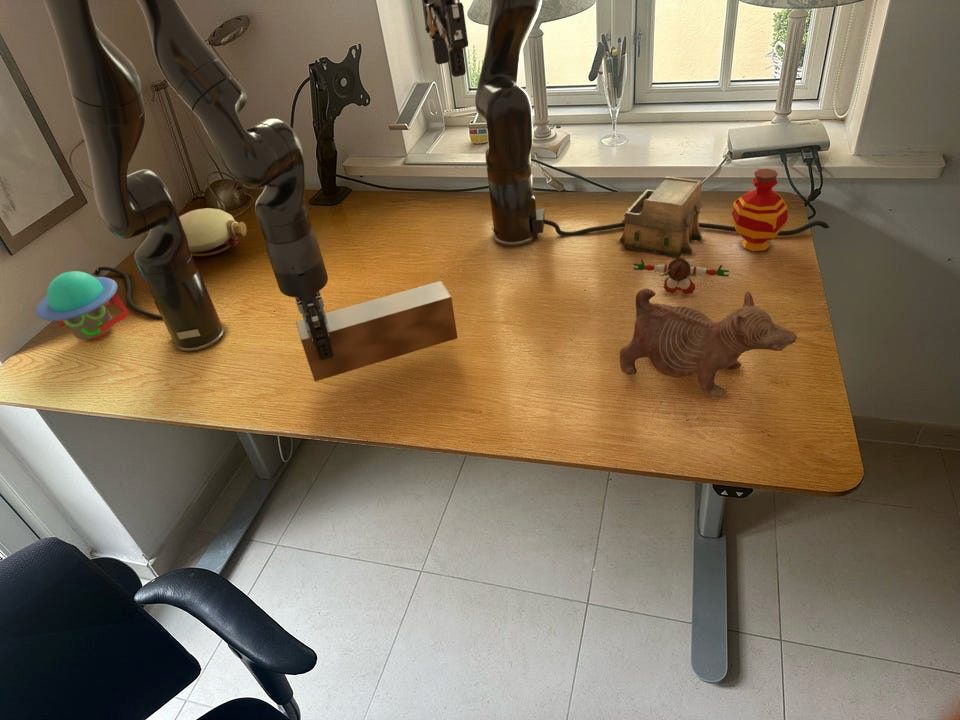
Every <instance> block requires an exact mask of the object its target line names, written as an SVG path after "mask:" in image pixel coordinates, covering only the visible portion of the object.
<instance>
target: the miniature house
mask: <svg viewBox="0 0 960 720" xmlns="http://www.w3.org/2000/svg"><path fill="white" fill-rule="evenodd" d="M702 183H703V181H702V180H699V179H698V180H697V179H690V178H683V177H676V176H675V177H674V176H667V175H666V176H665V177H664V178H663V181H662V182H661V183H660V185H659V186H658V187H657V188H656V189H646V190H644V191H643V193H642V194H641V195H639V196H638V197H637V199H636V200H635V202H634V203H632V205H630V207H628V208H626V211H625V213H624V215H623V217H624V219H623V220H622V221H621V223H625V227H623V228H624V229H623V232H622V235H621V237H620V238H619V242H620V243H623V249H625V250H630V251H636V252H641V253H646V254H651V255H657V256H662V257H667V258H673V259H678V258H681V257H682V255H689V256H691V255H692V254H693V249H692V247H691V243H692V242H693V241H695V242H702V239H703V236H702V234H701V231H700V227H699V223H700V222H699V215H700V213H701V208H702V207H703V205H704V204H703V203H701V193H702V192H701V191H702ZM698 222H699V223H698Z"/></svg>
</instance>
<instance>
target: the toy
mask: <svg viewBox="0 0 960 720" xmlns="http://www.w3.org/2000/svg"><path fill="white" fill-rule="evenodd" d="M640 262H641V263H633V266H634V267H633V268H632V269H633V270H634V271H648V272H652V271H653V272H654V273H657V272H658V273H659V274H658V276H659V277H664V276H668V277H666V278H665V279H664V281H663V282H664V283H663V289H664V290H665V292H666V293H668V294H672V295H673V294H674V293H676V292H677V291H680V292H682V294H683V295H692V294H693V293H694V292H695V290H696V288H697V287H696V284H695V283H694V282H693V280H691V278H689V277H690V276H691V277H694V278H697V276H704V277H706V275H707V276H716V277H729V276H730V275H729V274H726V273H730V270H729V269H722V268H723V265H722V264H720V265H718V268H717V269H714V268H710V269H707V267H701V266H696V265H695V266H693V263H694V261H693V260H692V259H685V258H682V257H680V258H678V259H677V258H673V259H672V260H671V261H670V262H669V263H668V264H666V263H665V264H656V263H655V264H654V265H652V264H645V260H644V259H641V260H640ZM660 273H661V274H660Z"/></svg>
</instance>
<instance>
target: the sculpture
mask: <svg viewBox="0 0 960 720" xmlns="http://www.w3.org/2000/svg"><path fill="white" fill-rule="evenodd" d="M655 296H656V292H655V291H654V290H652V289H650V288H648V287H647V288H641V289H639V290H638V291H637V292H636V294H635V300H634V301H635V302H634V305H635V314H636V315H635V321H634V327H633V328H634V331H633V336H632V339H631V341H630V342H629V343H628V344H627V345H624V346H623V347H621V348H620V350H619V365H620V370H621V372H622V373H623V374H625V375H627V376H634V375H636V374H637V373H638V370H637V368H636V361H637V360H639V359H641V358H648V359H649V361H650V363H651V365H652V366H653V368H654V369H655V370H656V371H657V372H659V373H660V374H662V375H663V376H666V377H670V378H675V379H682V378H683V379H684V378H687V377H690V376H692V375H694V374H696V376H697V381H698V385H699V389H700V391H701V393H702V394H703V395H704V396H706V397H708V398H713V399H714V398H724V397H725V396H726V395H727V394H728V392H727V390H726V389H725V388H724V387H722V386H721V385H718V384H717V383H715V378H716V375H717V372H719V371H722V370H727V371H736V370H739V369H740V368H741V367H742V362H741V361H739V360H738V359H739V358H740V356H741V355H742V354H744V353H747V352H748V351H752V350H768V351H773V352H774V351H776V352H781V351H783V350H784V349H786V348H787V347H788V346H790V345H793V344H794V343H795V342H796V341H797V338H798V336H797V334H795V332H794V331H792V330H790V329H787V328H786V327H784V326H780V325H778V324H776V323H775V322H774V321H773V319H772V317H771V315H770V314H768V312H766V311H765V310H764V309H762V308H761V307H757V306H755V302H754V298H753V296H752V294H751V292H750V291H745V292H744V297H743V304H742V307H739V308H736V309H735V310H733V311H732V312H731V313H729V314H728V315H726V316H725V317H724V318H722V319H720V321H717V322H715V321H713V320H712V319H711V318H709V317H708V316H707V315H706V314H705V313H704V312H702V311H700V310H698V309H695V308H693V307H688V306H684V305H669V304H664V303H657V302H656V303H655V302H650V300H651V298H653V297H655Z"/></svg>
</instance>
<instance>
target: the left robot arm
mask: <svg viewBox="0 0 960 720" xmlns="http://www.w3.org/2000/svg"><path fill="white" fill-rule="evenodd" d="M135 1H136V2H137V4H138V6H139V8H140V10H141V11H142V15H143V16H144V20H145V23H146V27H147V29H148V33H149V39H150V42H151V46H152V50H153V54H154V57H155V60H156V63H157V65H158V67H159V70H160V72H161V73H162V75H163V77H164V78H165V81H166V82H167V83H168V84H169V86H170V87H171V88H172V89H173V90H174V91H175V92H176V94H177V95H178V96H179V97H180V99H181V100H182V102H184V103H185V104H186V105H187V107H188V108H189V109H190V110H191V111H192V112H193V113H194V115H196V117H197V118H198V119H199V120H200V122H201V124H202V126H203V128H204V130H205V132H206V133H207V135H208V138H209V139H210V141H211V143H212V145H213V146H214V149H215V151H216V153H217V155H218V156H219V158H220V161H221V162H222V164H223V166H224V167H225V169H226V171H227V172H228V173H229V174H230V175H231V176H232V177H233V178H234V179H235V180H236V181H237V182H239V183H240V184H242V185H243V186H245V187H248V188H252V189H260V188H263V187H264V188H263V190H262V192H261V194H259V196H258V197H257V199H256V201H255V204H254V210H255V215H256V218H257V222H258V224H259V228H260V231H261V233H262V236H263V238H264V244H265V249H266V253H267V256H268V259H269V262H270V265H271V269H272V271H273V275H274V277H275V278H274V279H275V280H276V283H277V287H278V290H279V292H280V293H281V294H282V295H284V296H286V297H289V298H294V299H295V303H296V306H297V310H298V311H299V314H301V316H302V320H304V323H305V326H306V329H307V330H310V331H311V335H312V338H313V339H312V341H314V342H313V344H315V347H316V348H317V351H318V354H319V357H320V359H321V360H326V359H329V358H332V357H333V352H332V349H331V345H330V340H331V338H330V336H329V334H328V332H327V328H326V325H327V324H328V322H327V318H326V315H325V313H326V312H325V308H324V307H325V303H324V300H323V296H322V295H321V290H322V289H324V288H325V287H326V286H327V284H328V281H329V277H328V272H327V268H326V265H325V262H324V257H323V255H322V251H321V248H320V243H319V240H318V238H317V235H316V233H315V231H314V228H313V225H312V222H311V218H310V214H309V211H308V208H307V205H306V201H305V194H306V193H305V192H306V191H305V190H306V181H305V157H304V151H303V146H302V144H301V140H300V139H299V137H298V135H297V133H296V132H295V131H294V129H293V128H292V127H291V125H289V124H288V123H287V122H286V121H284V120H282V119H280V118H275V117H271V118H266V119H263V120H261V121H260V122H258V123H256V124H255V125H253V126H251V127H249V128H247V129H246V128H245V127H244V125H243V123H242V121H241V119H240V116H239V114H240V113H241V112H242V110H243V109H244V108H245V107H246V104H247V103H248V102H247V101H248V96H247V93H246V91H245V89H244V88H243V86H242V85H241V83H239V81H238V79H236V78H235V76H233V74H232V73H231V71H230V70H229V69H228V68H227V67H226V66H225V65H224V63H223V62H222V61H221V60H220V58H219V57H218V56H217V55H216V54H215V53H214V51H213V50H212V49H211V48H210V47H209V45H208V44H207V42H205V40H204V39H203V38H202V37H201V35H200V34H199V32H198V31H197V29H196V28H195V27H194V25H193V24H192V22H191V21H190V19H189V18H188V16H187V15H186V13H185V11H184V10H183V8H182V7H181V5H180V4H179V2H178V0H135ZM43 3H44V6H45V9H46V11H47V14H48V16H49V19H50V22H51V25H52V28H53V29H52V30H53V31H54V35H55V37H56V42H57V45H58V48H59V52H60V55H61V58H62V63H63V66H64V70H65V74H66V79H67V83H68V88H69V93H70V95H71V99H72V103H73V106H74V110H75V113H76V116H77V120H78V123H79V125H80V129H81V132H82V136H83V139H84V143H85V146H86V151H87V156H88V161H89V167H90V174H91V180H92V189H93V193H94V199H95V203H96V207H97V210H98V212H99V215H100V217H101V219H102V221H103V223H104V224H105V226H106V227H107V229H108V230H109V231H110V232H111V233H112V234H113V235H114V236H116V237H118V238H121V239H126V240H127V239H132V238H136V237H138V236H140V235H142V234H144V233H146V232H148V234H147V236H146V237H145V239H144V240H143V241H142V242H141V244H140V245H139V246H138V247H137V248H136V250H135V252H134V255H133V257H134V258H133V259H134V262H135V265H136V266H137V268H138V270H139V272H140V274H141V277H142V278H143V280H144V282H145V285H146V286H147V288H148V291H149V293H150V294H151V297H152V298H153V302H154V304H155V307H156V308H157V311H158V312H159V314H155V313H151V312H149V311H146V310H144V309H142V308H139V307H138V306H136V304H135V303H134V302H133V300H132V294H133V293H132V292H133V285H132V281H131V279H130V276H129V274H128V273H127V272H126V271H123V270H121V269H118V268H115V267H110V266H98V267H97V268H98V270H99V271H97V270H96V269H95V270H94V274H95V275H97V274H99V273H100V272H101V271H108V272H112V273H115V274H119V275H121V276H122V277H124V279H125V283H126V288H127V289H126V301H127V304H128V306H130V308H131V309H132V310H133V311H135V312H136V313H138V314H141V315H142V316H145V317H148V318H151V319H154V320H159V321H160V320H161V321H163V323H164V325H165V327H166V329H167V331H168V333H169V335H170V337H171V339H172V341H173V342H174V345H175V347H176V349H178V350H179V351H182V352H186V353H187V352H188V353H192V352H198V351H202V350H205V349H208V348H209V347H211V346H213V345H215V344H216V343H217V342H219V341H220V340H221V339H222V338H223V336H224V334H225V327H224V325H223V323H222V322H221V319H220V316H219V315H218V312H217V309H216V307H215V305H214V302H213V301H212V297H211V296H210V293H209V291H208V288H207V287H206V283H205V281H204V279H203V277H202V275H201V272H200V269H199V268H198V265H197V264H196V263H197V262H196V261H195V259H194V256H192V254H191V251H190V249H189V246H188V240H187V237H186V234H185V231H184V229H183V226H182V223H181V221H180V218H179V217H180V215H179V213H178V209H177V207H176V204H175V201H174V199H173V197H172V195H171V192H170V189H169V188H168V187H167V185H166V184H165V182H164V180H163V179H162V178H161V177H160V176H159V175H158V174H157V173H155V172H154V171H152V170H150V169H140V170H137V171H135V172H132V173H130V174H128V170H129V167H130V163H131V161H132V159H133V156H134V154H135V152H136V150H137V147H138V145H139V143H140V140H141V138H142V135H143V132H144V129H145V125H146V119H147V118H146V117H147V113H146V106H145V99H144V94H143V88H142V83H141V78H140V76H139V73H138V71H137V70H136V68H135V66H134V64H133V62H131V60H130V59H129V58H128V57H127V56H126V55H125V54H124V53H123V52H122V51H121V50H120V49H119V48H118V47H117V46H116V45H115V44H114V43H113V42H112V41H111V40H110V39H109V38H107V36H106V35H105V34H104V33H103V32H102V31H101V30H100V28H99V26H98V25H97V22H96V19H95V17H94V14H93V12H92V8H91V3H90V0H43Z"/></svg>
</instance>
